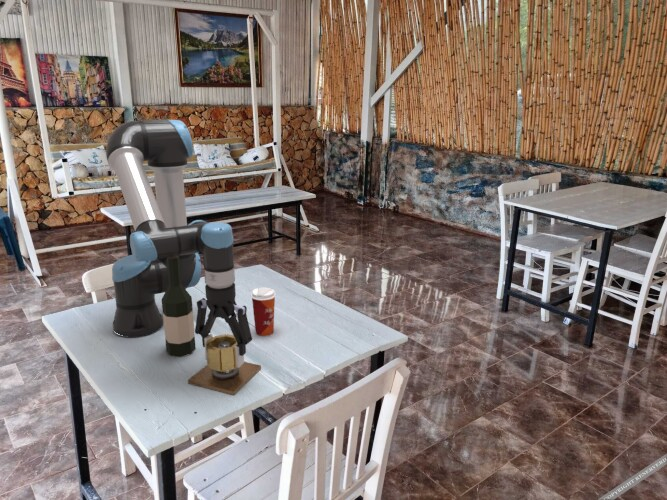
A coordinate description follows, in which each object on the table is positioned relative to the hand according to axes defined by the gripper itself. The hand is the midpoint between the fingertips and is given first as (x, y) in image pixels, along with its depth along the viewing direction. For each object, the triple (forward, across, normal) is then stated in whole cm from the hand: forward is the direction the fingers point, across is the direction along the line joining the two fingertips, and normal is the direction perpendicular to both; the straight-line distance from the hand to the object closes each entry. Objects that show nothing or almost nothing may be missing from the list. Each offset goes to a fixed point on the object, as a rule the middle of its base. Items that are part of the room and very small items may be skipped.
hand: (224, 361), depth 141 cm
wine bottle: (+5, -20, +7) cm, 22 cm away
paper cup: (+5, -3, +27) cm, 28 cm away
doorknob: (+4, 0, 0) cm, 4 cm away
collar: (0, 0, 0) cm, 0 cm away
